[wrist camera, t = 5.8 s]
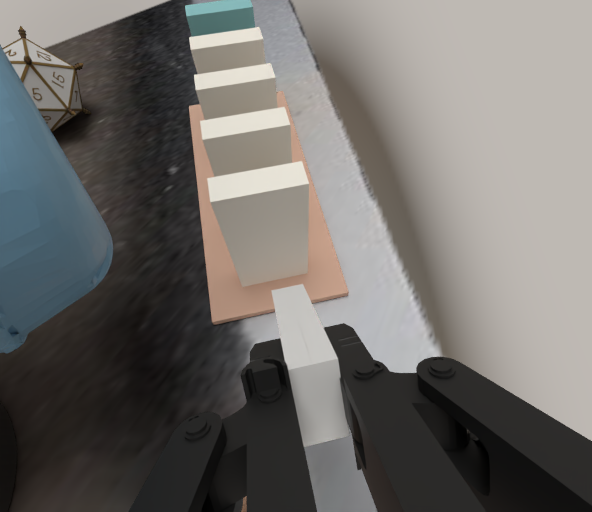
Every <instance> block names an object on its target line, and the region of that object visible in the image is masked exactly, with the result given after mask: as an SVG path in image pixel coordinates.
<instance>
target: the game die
mask: <svg viewBox="0 0 592 512" xmlns="http://www.w3.org/2000/svg"><path fill="white" fill-rule="evenodd" d="M18 31H19V34H20V36H21V38H20V39H19V40H17V41H15V42H13V43H11V44H9V45H8V46H6V47H4V48H2V49H3V50H4V52H5V54H6V56H7V57H8V59H9V61H10V62H11V64H12V66H13V67H14V69H15V71H16V72H17V74H18V76H19V77H20V79H21V81H22V83H23V84H24V86H25V88H26V89H27V91H28V93H29V94H30V96H31V98H32V99H33V101H34V103H35V105H36V106H37V108H38V110H39V112H40V113H41V115H42V117H43V118H44V120H45V122H46V124H47V125H48V127H49V129H50V130H51V132H53V131H54V130H56V129H57V128H59V127H60V126H61V125H63V124H64V123H66V122H67V121H69V120H70V119H71V118H73V117H74V116H76V115H77V114H78V113H80V112H81V111H82V112H83V113H85V114H91V113H90V112H89V110H88V109H86V108H85V109H84V108H82V102H81V96H80V89H79V83H78V77H77V71H76V70H80V69H82V67H83V64H82V63H78V64H75V66H72V65H70V64H69V63H67V62H65V61H64V60H62V59H60V58H59V57H57V56H55V55H53V54H52V53H50V52H48V51H47V50H45V49H43V48H41V47H40V46H38V45H36V44H34V43H33V42H31V41H30V40H28V39H26V33H25V32H26V31H24V29H23V28H22V27H21V26H20V29H19V30H18Z"/></svg>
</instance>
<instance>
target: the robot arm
mask: <svg viewBox="0 0 592 512" xmlns="http://www.w3.org/2000/svg"><path fill="white" fill-rule="evenodd" d="M112 256H113V243H112V238H111V235H110V232H109V230H108V228H107V226H106V224H105V222H104V221H103V219H102V217H101V215H100V214H99V212H98V210H97V208H96V207H95V205H94V203H93V202H92V200H91V198H90V196H89V195H88V193H87V191H86V190H85V188H84V186H83V184H82V183H81V181H80V179H79V178H78V176H77V174H76V173H75V171H74V169H73V167H72V166H71V164H70V162H69V161H68V159H67V157H66V155H65V154H64V152H63V150H62V149H61V147H60V145H59V144H58V142H57V140H56V139H55V137H54V135H53V134H52V132H51V130H50V129H49V127H48V125H47V124H46V122H45V120H44V118H43V117H42V115H41V113H40V112H39V110H38V108H37V106H36V105H35V103H34V101H33V99H32V98H31V96H30V94H29V93H28V91H27V89H26V88H25V86H24V84H23V83H22V81H21V79H20V77H19V76H18V74H17V72H16V71H15V69H14V67H13V66H12V64H11V62H10V61H9V59H8V57H7V56H6V54H5V52H4V50H3V49H2V47H1V45H0V353H3V352H5V353H6V354H7V353H10V352H12V351H14V350H16V349H17V348H19V347H20V346H21V345H22V344H23V343H25V340H26V338H27V335H28V333H30V332H31V331H33V330H34V329H36V328H37V327H38V326H40V325H41V324H43V323H44V322H46V321H47V320H49V319H50V318H52V317H53V316H55V315H56V314H58V313H59V312H61V311H62V310H64V309H65V308H66V307H68V306H69V305H71V304H72V303H74V302H75V301H77V300H78V299H80V298H81V297H83V296H84V295H86V294H87V293H89V292H90V291H91V290H93V289H94V288H95V287H96V286H97V285H98V284H99V283H100V282H101V281H102V280H103V278H104V277H105V275H106V274H107V272H108V270H109V268H110V265H111V261H112ZM271 291H272V297H273V302H274V307H275V312H276V318H277V323H278V328H279V333H280V339H275V340H271V341H266V342H262V343H257V344H255V345H254V347H253V348H252V350H251V351H250V363H249V364H248V365H247V366H246V367H245V368H244V369H243V370H242V373H241V379H242V383H243V387H244V391H245V395H246V399H247V403H246V404H245V406H244V407H243V408H242V409H240V410H239V411H238V412H236V413H234V414H233V415H231V416H229V417H227V418H225V419H223V420H222V419H221V417H220V416H219V415H217V414H216V413H213V412H203V413H199V414H196V415H193V416H191V417H189V418H187V419H186V420H185V421H183V422H182V423H181V424H179V426H178V427H177V428H176V429H175V431H174V432H173V434H172V436H171V438H170V439H169V441H168V443H167V445H166V446H165V448H164V450H163V452H162V453H161V455H160V457H159V459H158V461H157V462H156V464H155V466H154V468H153V469H152V471H151V473H150V475H149V476H148V478H147V480H146V482H145V484H144V485H143V487H142V489H141V491H140V492H139V494H138V496H137V498H136V499H135V501H134V503H133V505H132V507H131V508H130V510H129V512H241V510H242V506H243V498H244V497H245V496H247V512H317V509H316V504H315V499H314V495H313V490H312V485H311V480H310V475H309V470H308V465H307V460H306V455H305V451H304V447H307V446H311V445H315V444H319V443H323V442H327V441H331V440H335V439H339V438H343V437H347V436H350V433H349V428H350V430H351V433H352V437H353V443H354V450H355V456H356V463H357V469H358V470H360V469H361V468H362V471H363V474H364V476H365V479H366V482H367V484H368V487H369V490H370V492H371V495H372V498H373V500H374V503H375V506H376V508H377V511H378V512H592V441H590V440H588V439H587V438H585V437H584V436H582V435H580V434H579V433H577V432H575V431H574V430H572V429H570V428H569V427H567V426H565V425H564V424H562V423H560V422H559V421H557V420H555V419H554V418H552V417H550V416H549V415H547V414H545V413H544V412H542V411H540V410H539V409H537V408H535V407H534V406H532V405H530V404H529V403H527V402H525V401H524V400H522V399H520V398H519V397H517V396H515V395H514V394H512V393H510V392H509V391H507V390H505V389H504V388H502V387H500V386H498V385H497V384H495V383H494V382H492V381H490V380H489V379H487V378H485V377H484V376H482V375H480V374H479V373H477V372H475V371H474V370H472V369H470V368H469V367H467V366H465V365H463V364H462V363H460V362H458V361H456V360H454V359H451V358H445V357H431V358H427V359H424V360H423V361H421V362H420V363H419V364H418V366H417V368H416V369H417V373H394V372H390V371H389V370H388V368H387V367H386V366H385V365H384V364H383V363H381V362H379V361H376V360H373V358H372V357H371V355H370V354H369V352H368V350H367V349H366V347H365V346H364V344H363V343H362V342H361V340H360V338H359V337H358V335H357V334H356V332H355V331H354V329H353V328H352V327H350V326H348V325H346V324H344V323H343V324H339V325H334V326H330V327H325V328H323V326H322V324H321V322H320V319H319V317H318V315H317V313H316V311H315V309H314V307H313V305H312V302H311V300H310V298H309V296H308V294H307V292H306V290H305V288H304V285H303V284H300V285H295V286H290V287H286V288H281V289H276V290H271ZM348 425H349V427H348ZM16 465H17V451H16V440H15V434H14V430H13V426H12V423H11V420H10V418H9V416H8V414H7V412H6V410H5V408H4V407H3V405H2V404H1V402H0V512H8V509H9V505H10V501H11V498H12V493H13V488H14V483H15V476H16Z"/></svg>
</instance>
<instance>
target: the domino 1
mask: <svg viewBox="0 0 592 512" xmlns="http://www.w3.org/2000/svg"><path fill="white" fill-rule="evenodd" d="M185 8H186V16H187V20H188V24H189V27H190V31H191V35H192V37H194V36H201V35H208V34H215V33H222V32H229V31H235V30H242V29H249V28H255V22H254V14H253V6H252V3H251V0H223V1H216V2H208V3H201V4H194V5H186V6H185Z"/></svg>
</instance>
